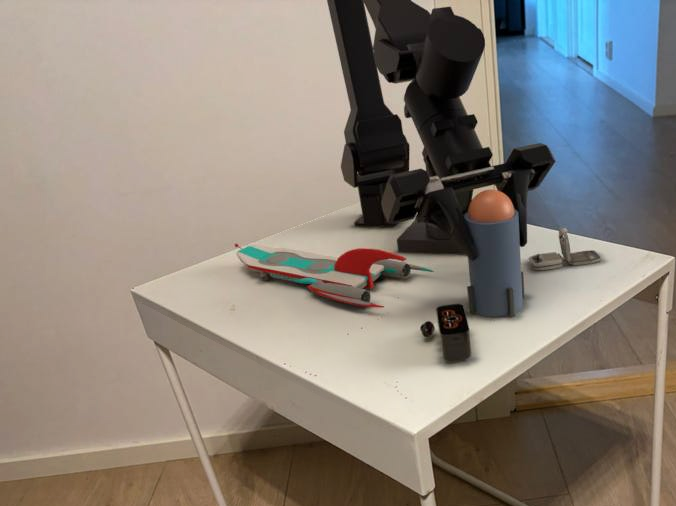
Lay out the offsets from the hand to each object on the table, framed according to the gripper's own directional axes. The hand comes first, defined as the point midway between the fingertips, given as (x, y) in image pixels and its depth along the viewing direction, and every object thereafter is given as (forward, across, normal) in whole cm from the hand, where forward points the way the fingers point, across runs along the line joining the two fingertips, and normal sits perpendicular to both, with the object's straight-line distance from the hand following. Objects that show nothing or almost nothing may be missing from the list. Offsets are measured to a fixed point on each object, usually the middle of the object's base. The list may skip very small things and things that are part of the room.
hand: (499, 252), depth 74 cm
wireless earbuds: (+7, +8, -3) cm, 12 cm away
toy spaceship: (-10, +15, -20) cm, 27 cm away
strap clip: (0, -13, -10) cm, 16 cm away
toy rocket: (+4, 0, -6) cm, 7 cm away
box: (-12, -4, -21) cm, 25 cm away
